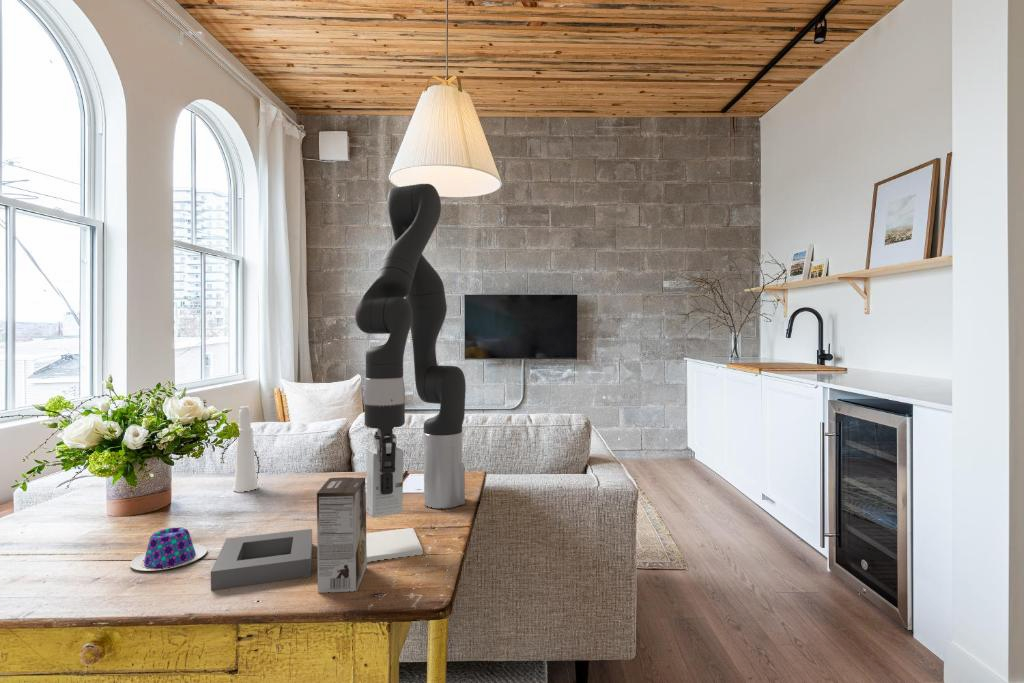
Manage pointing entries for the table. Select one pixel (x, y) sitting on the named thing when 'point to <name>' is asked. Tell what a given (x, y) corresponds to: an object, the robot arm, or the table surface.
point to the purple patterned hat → (169, 550)
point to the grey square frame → (263, 559)
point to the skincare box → (374, 499)
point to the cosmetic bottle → (245, 454)
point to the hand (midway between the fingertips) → (385, 489)
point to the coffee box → (341, 534)
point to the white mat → (392, 544)
